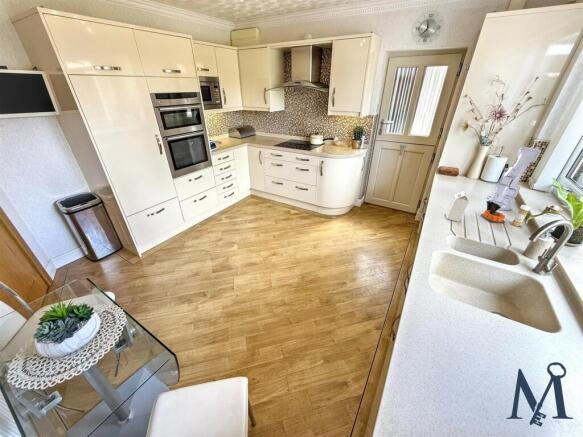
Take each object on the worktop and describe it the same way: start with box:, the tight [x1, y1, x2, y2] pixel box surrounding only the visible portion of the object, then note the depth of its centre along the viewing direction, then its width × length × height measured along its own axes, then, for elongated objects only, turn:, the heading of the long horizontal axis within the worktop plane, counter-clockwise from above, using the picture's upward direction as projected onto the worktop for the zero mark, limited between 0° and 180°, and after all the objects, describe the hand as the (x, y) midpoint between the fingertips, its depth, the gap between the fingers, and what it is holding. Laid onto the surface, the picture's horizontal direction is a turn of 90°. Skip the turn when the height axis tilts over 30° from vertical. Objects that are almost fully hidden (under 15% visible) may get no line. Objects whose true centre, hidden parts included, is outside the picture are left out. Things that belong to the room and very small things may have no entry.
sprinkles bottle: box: [510, 204, 532, 227], centre depth 147 cm, size 5×5×13 cm
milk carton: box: [445, 189, 470, 223], centre depth 149 cm, size 7×7×19 cm
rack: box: [480, 213, 506, 224], centre depth 154 cm, size 9×9×4 cm
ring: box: [482, 209, 506, 222], centre depth 154 cm, size 11×11×3 cm
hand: (489, 212), depth 158 cm, fingers closed on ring, 3 cm apart
